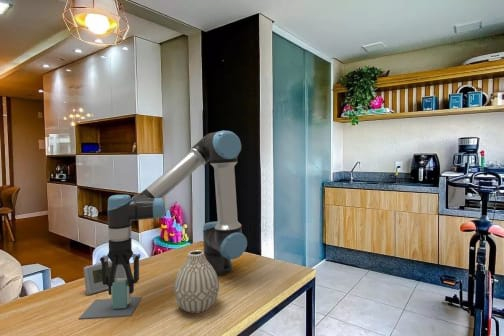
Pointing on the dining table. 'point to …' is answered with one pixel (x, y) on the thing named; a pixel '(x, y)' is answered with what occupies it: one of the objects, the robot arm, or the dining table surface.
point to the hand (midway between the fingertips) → (121, 302)
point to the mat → (109, 309)
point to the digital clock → (99, 277)
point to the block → (119, 293)
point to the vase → (196, 284)
